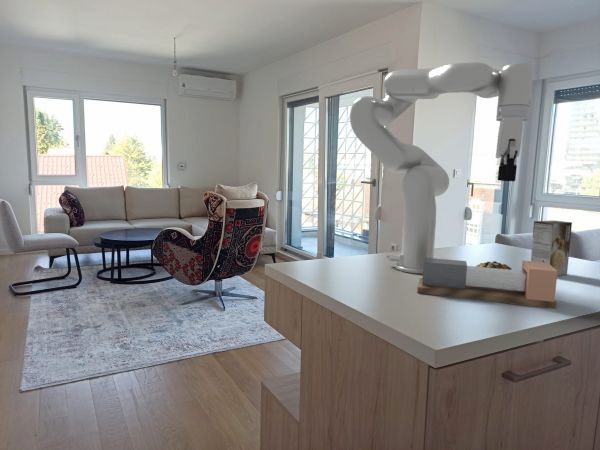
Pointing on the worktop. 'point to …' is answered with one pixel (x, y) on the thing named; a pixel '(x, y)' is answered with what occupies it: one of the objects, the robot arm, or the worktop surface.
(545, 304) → the base board
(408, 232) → the robot arm
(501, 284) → the light grey bar
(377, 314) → the worktop surface
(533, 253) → the coffee box
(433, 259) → the sleeve
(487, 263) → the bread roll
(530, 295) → the socket block
